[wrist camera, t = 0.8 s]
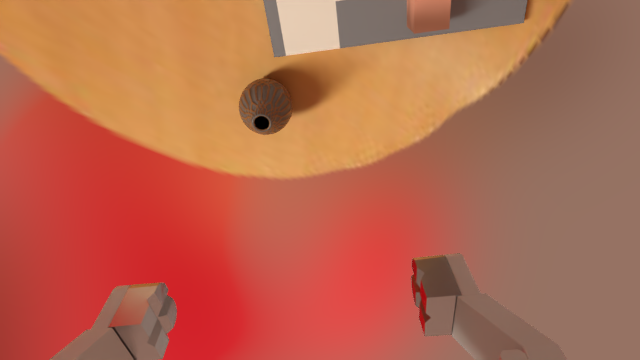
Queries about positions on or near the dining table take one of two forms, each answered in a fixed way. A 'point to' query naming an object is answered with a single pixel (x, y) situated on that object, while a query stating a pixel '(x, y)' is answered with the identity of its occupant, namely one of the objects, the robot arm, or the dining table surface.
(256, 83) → the vase
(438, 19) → the t block
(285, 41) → the board
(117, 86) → the dining table surface
